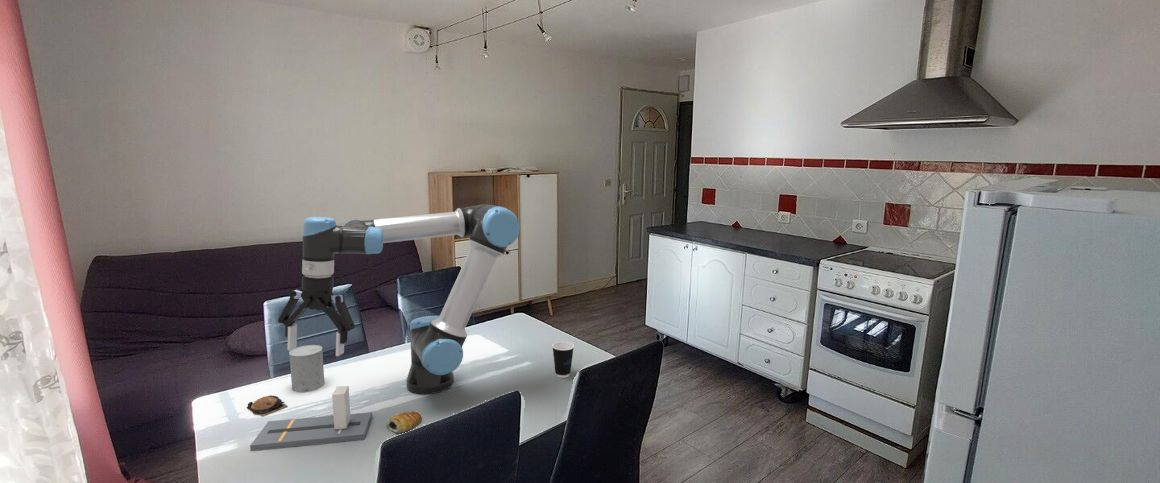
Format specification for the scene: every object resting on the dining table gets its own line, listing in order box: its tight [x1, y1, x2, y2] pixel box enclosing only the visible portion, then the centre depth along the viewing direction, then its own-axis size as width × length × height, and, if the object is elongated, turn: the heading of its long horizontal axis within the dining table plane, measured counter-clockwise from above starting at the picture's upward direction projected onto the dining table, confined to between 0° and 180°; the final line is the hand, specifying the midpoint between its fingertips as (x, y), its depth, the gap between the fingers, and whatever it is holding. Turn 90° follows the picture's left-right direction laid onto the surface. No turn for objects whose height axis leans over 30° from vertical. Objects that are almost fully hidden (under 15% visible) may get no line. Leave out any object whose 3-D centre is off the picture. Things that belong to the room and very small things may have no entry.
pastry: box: [386, 410, 423, 434], centre depth 139 cm, size 9×7×4 cm
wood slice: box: [246, 395, 289, 418], centre depth 147 cm, size 11×8×4 cm
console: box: [249, 411, 373, 452], centre depth 134 cm, size 27×12×2 cm, turn 103°
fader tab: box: [331, 385, 351, 429], centre depth 134 cm, size 3×5×10 cm, turn 13°
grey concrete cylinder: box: [288, 344, 326, 393], centre depth 160 cm, size 10×10×12 cm
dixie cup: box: [551, 340, 575, 379], centre depth 173 cm, size 8×8×11 cm
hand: (315, 351), depth 133 cm, fingers open, 13 cm apart
